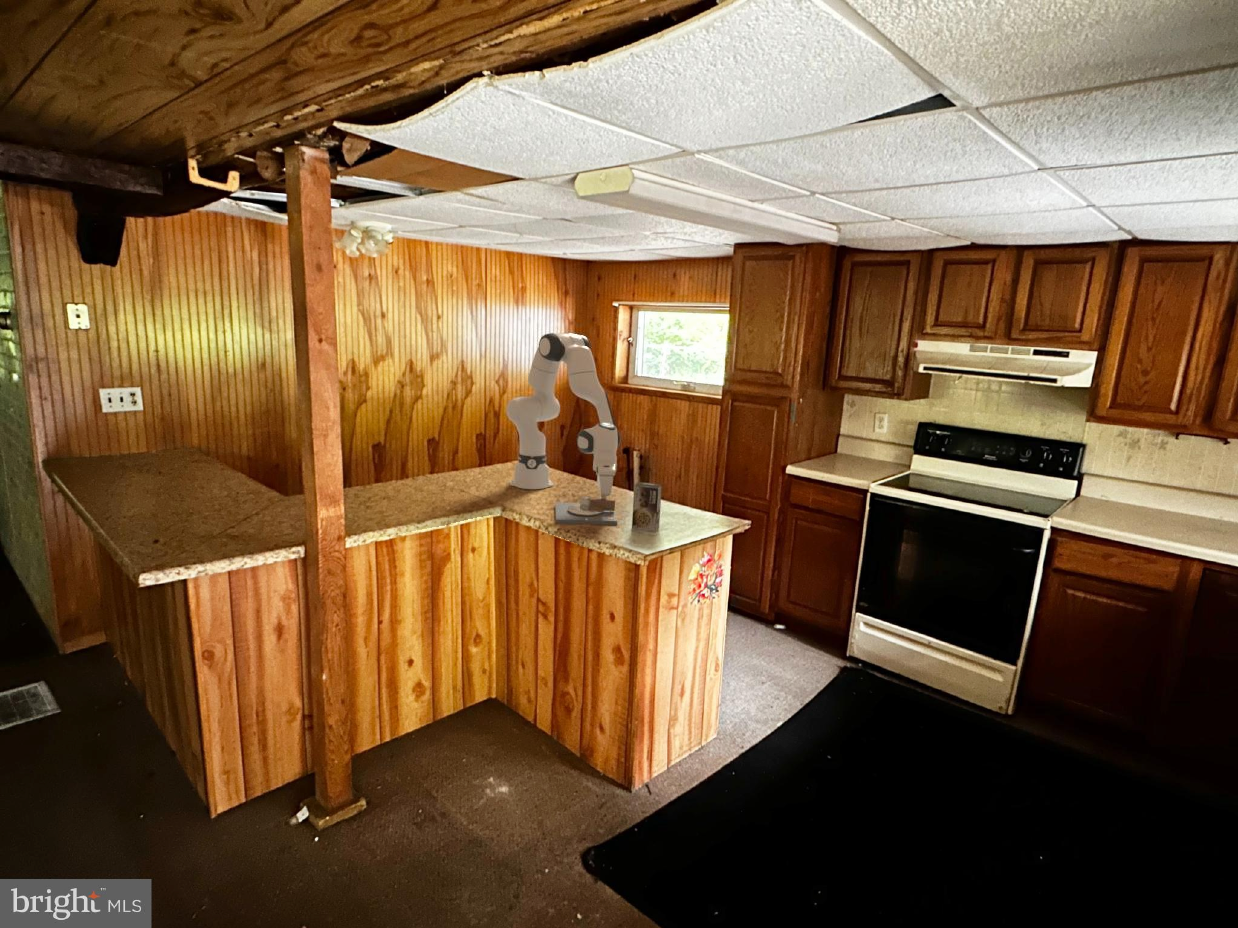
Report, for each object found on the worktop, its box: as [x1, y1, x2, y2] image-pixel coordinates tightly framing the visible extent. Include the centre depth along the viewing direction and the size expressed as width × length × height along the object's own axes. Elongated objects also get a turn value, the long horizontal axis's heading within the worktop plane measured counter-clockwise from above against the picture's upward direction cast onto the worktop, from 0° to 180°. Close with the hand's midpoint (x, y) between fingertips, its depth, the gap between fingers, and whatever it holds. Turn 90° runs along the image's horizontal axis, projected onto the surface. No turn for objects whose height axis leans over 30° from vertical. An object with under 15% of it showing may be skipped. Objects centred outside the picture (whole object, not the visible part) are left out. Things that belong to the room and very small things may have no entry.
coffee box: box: [631, 481, 663, 533], centre depth 233 cm, size 9×6×16 cm
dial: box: [568, 496, 616, 516], centre depth 246 cm, size 18×13×5 cm
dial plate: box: [554, 502, 618, 526], centre depth 246 cm, size 22×22×2 cm
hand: (602, 500), depth 252 cm, fingers closed
